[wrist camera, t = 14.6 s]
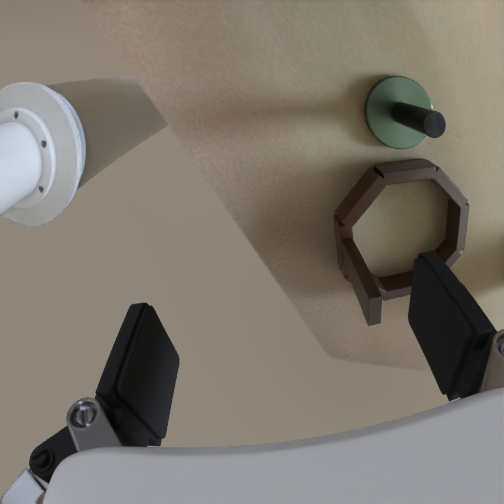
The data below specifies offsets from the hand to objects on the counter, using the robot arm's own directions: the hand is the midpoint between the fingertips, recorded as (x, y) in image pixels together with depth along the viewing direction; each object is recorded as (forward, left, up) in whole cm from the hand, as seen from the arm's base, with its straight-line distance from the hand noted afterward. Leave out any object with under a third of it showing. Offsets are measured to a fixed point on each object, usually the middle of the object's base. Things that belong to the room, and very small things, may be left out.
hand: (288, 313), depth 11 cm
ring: (+15, -12, -24) cm, 31 cm away
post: (+15, +2, -24) cm, 29 cm away
